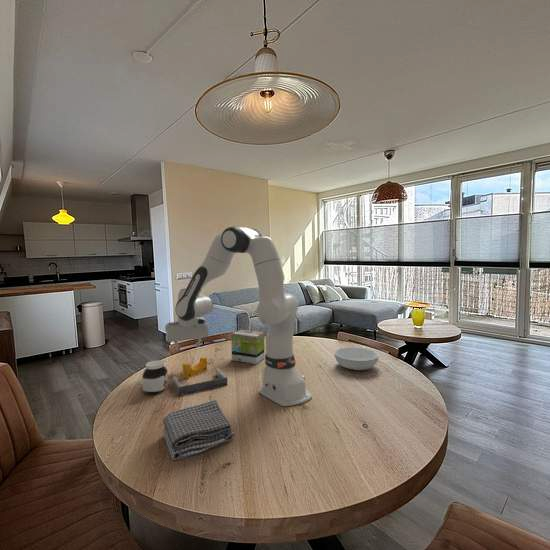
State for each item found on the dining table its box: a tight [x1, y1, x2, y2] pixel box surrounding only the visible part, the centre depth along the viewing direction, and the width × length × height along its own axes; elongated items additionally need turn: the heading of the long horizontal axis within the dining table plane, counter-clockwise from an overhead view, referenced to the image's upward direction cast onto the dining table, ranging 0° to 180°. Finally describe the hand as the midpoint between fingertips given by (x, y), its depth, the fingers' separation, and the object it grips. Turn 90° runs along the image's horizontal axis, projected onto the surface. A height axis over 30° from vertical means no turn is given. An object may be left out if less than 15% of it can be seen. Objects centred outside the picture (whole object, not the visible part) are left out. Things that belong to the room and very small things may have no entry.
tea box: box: [230, 329, 265, 365], centre depth 157 cm, size 15×10×15 cm, turn 67°
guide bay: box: [172, 367, 228, 396], centre depth 128 cm, size 13×20×3 cm, turn 118°
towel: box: [162, 399, 235, 461], centre depth 90 cm, size 15×18×8 cm
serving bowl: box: [334, 346, 379, 371], centre depth 146 cm, size 21×21×7 cm
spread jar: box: [140, 360, 169, 395], centre depth 123 cm, size 12×11×12 cm
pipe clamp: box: [182, 356, 208, 379], centre depth 140 cm, size 12×4×6 cm, turn 145°
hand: (187, 348), depth 147 cm, fingers open, 8 cm apart
